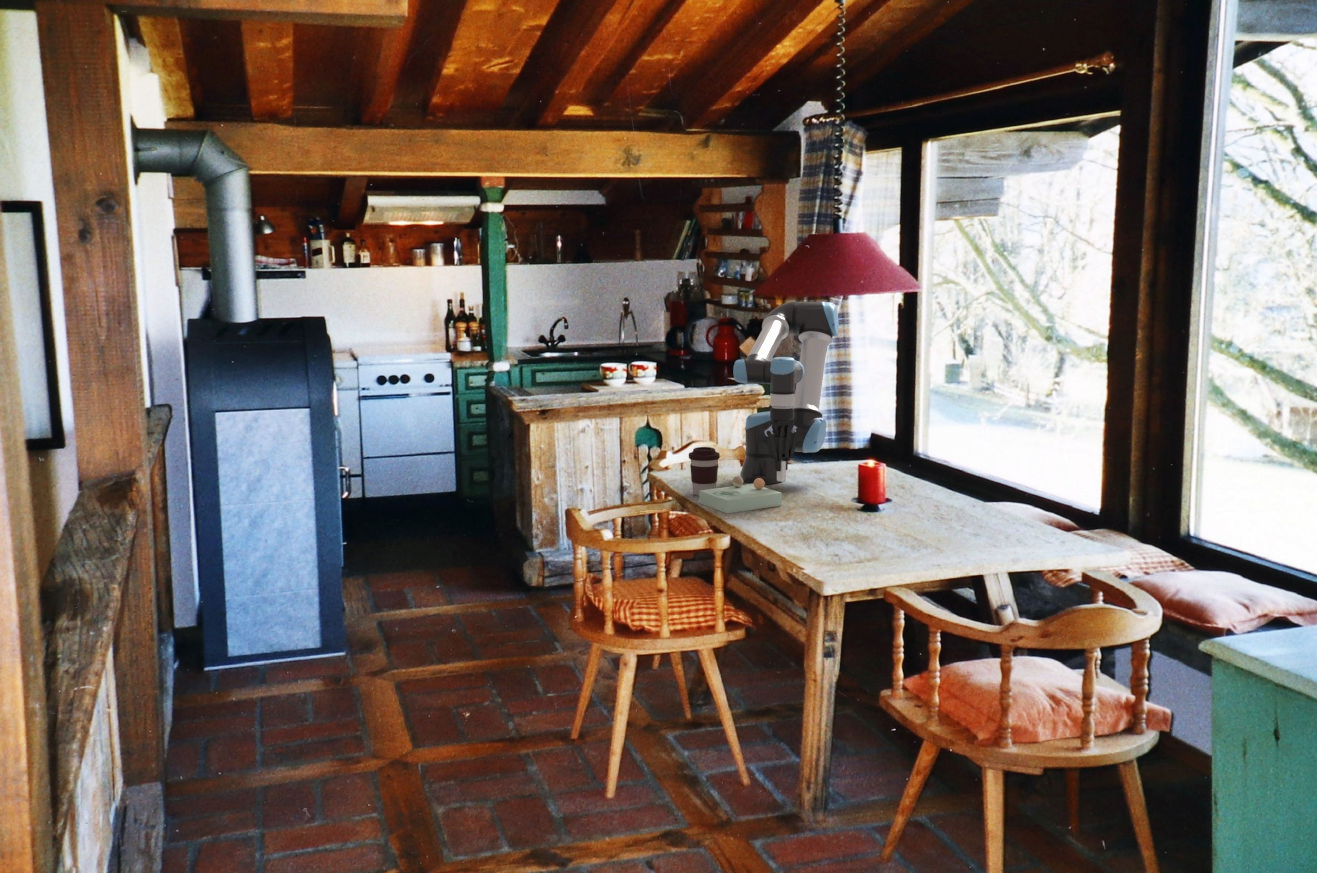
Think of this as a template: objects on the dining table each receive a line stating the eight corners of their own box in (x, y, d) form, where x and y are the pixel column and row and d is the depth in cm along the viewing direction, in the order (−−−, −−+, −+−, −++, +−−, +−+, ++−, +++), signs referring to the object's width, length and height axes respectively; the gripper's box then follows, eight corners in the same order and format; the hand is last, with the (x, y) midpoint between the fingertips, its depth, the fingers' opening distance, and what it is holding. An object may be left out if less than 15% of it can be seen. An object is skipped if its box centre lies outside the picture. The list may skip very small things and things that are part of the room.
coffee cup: (720, 491, 374) (720, 446, 371) (718, 497, 364) (718, 451, 361) (689, 490, 374) (689, 445, 372) (687, 497, 365) (687, 451, 362)
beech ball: (739, 485, 363) (739, 474, 362) (745, 487, 360) (745, 476, 359) (730, 486, 361) (730, 475, 361) (736, 488, 358) (736, 477, 358)
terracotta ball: (760, 487, 360) (760, 476, 359) (766, 489, 357) (766, 478, 356) (751, 488, 358) (751, 477, 357) (757, 490, 355) (757, 479, 354)
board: (752, 495, 366) (752, 483, 366) (781, 505, 353) (781, 492, 352) (699, 503, 357) (699, 490, 356) (727, 513, 343) (727, 500, 342)
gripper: (792, 404, 364) (790, 477, 367) (758, 407, 357) (757, 481, 361) (806, 406, 357) (805, 480, 361) (772, 409, 351) (771, 485, 355)
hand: (781, 480), depth 361 cm, fingers closed
